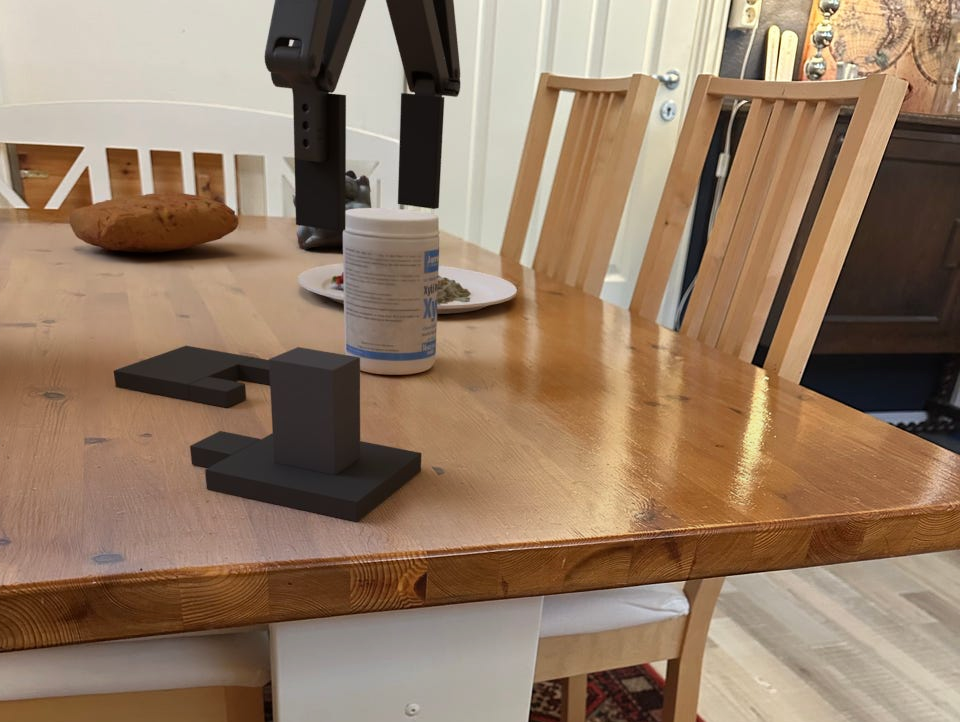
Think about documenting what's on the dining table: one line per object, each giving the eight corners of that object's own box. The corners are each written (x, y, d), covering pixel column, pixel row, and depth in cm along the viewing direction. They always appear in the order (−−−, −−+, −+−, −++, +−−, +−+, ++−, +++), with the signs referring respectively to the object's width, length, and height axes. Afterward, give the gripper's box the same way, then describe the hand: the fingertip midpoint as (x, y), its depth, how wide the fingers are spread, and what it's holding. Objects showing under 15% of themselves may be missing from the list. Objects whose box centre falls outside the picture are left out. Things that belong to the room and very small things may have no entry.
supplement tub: (444, 377, 95) (451, 221, 87) (352, 378, 93) (351, 218, 85) (423, 353, 103) (428, 208, 95) (338, 353, 100) (335, 204, 93)
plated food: (552, 318, 123) (555, 291, 121) (330, 323, 112) (330, 294, 110) (467, 274, 146) (468, 251, 144) (277, 275, 135) (276, 251, 133)
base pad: (115, 386, 85) (113, 370, 85) (187, 360, 94) (185, 345, 94) (228, 408, 82) (226, 391, 81) (291, 378, 91) (290, 363, 90)
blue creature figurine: (284, 249, 154) (271, 163, 153) (314, 270, 166) (302, 190, 165) (368, 229, 150) (355, 141, 149) (392, 251, 162) (381, 170, 161)
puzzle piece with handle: (162, 479, 67) (147, 354, 63) (245, 436, 76) (238, 323, 72) (357, 522, 63) (356, 391, 59) (421, 471, 72) (425, 354, 68)
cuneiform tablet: (199, 241, 157) (194, 188, 152) (248, 258, 146) (244, 202, 142) (65, 246, 144) (57, 189, 140) (108, 266, 133) (100, 204, 129)
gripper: (330, -350, 35) (332, 249, 46) (529, -183, 55) (497, 205, 66) (162, -345, 37) (203, 229, 48) (414, -185, 57) (402, 193, 68)
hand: (374, 216), depth 57 cm, fingers open, 13 cm apart
